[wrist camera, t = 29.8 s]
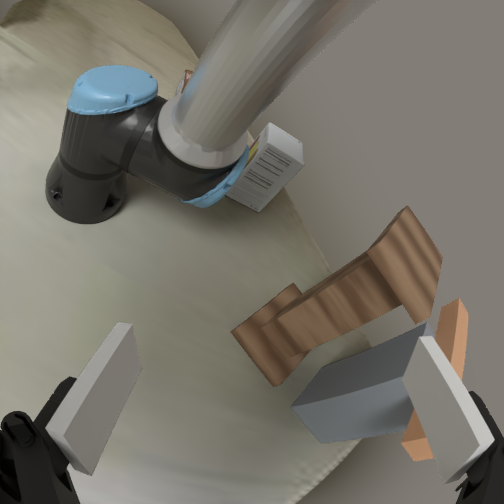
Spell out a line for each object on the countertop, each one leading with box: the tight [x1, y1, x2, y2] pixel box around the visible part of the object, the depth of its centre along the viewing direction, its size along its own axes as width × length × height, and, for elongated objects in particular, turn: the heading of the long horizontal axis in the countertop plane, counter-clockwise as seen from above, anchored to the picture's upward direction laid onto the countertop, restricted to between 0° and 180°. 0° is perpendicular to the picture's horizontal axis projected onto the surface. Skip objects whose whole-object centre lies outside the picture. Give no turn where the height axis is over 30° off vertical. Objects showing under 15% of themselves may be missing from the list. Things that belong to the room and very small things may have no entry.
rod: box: [401, 298, 468, 461], centre depth 34 cm, size 30×4×4 cm, turn 135°
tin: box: [176, 70, 193, 95], centre depth 76 cm, size 15×3×8 cm, turn 8°
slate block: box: [290, 322, 435, 443], centre depth 43 cm, size 12×10×24 cm
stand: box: [231, 206, 443, 387], centre depth 45 cm, size 18×12×30 cm, turn 135°
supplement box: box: [226, 123, 304, 212], centre depth 66 cm, size 10×9×17 cm
